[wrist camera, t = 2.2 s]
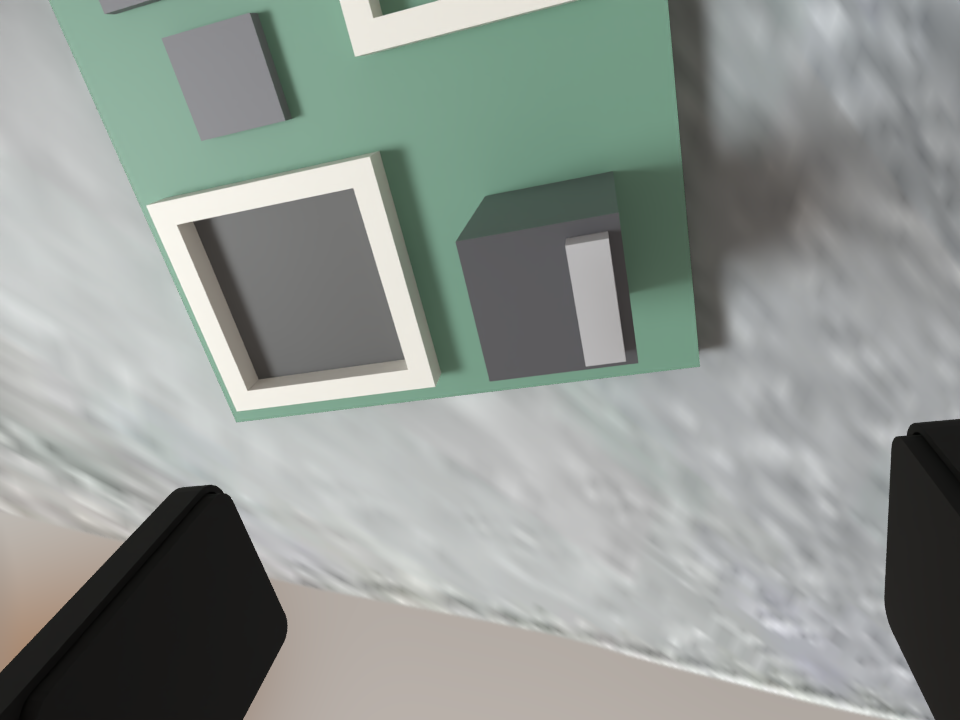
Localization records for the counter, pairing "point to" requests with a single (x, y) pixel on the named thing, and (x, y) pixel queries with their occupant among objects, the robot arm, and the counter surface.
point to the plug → (549, 279)
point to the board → (380, 175)
